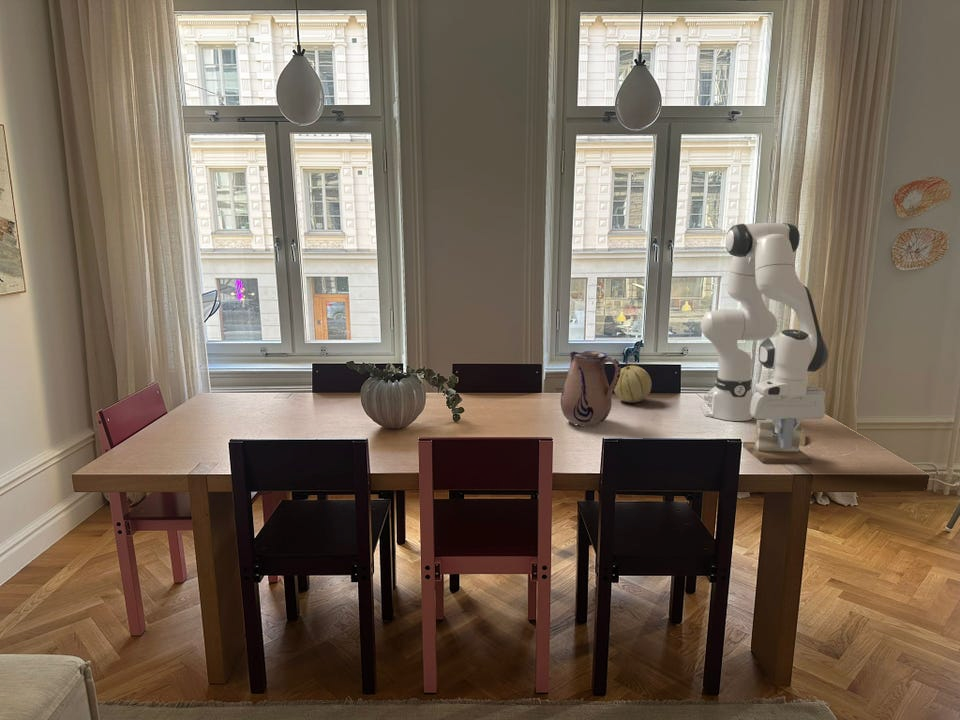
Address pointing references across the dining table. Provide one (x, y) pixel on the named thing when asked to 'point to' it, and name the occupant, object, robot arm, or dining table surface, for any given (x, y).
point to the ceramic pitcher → (588, 388)
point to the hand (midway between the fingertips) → (784, 433)
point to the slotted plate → (785, 433)
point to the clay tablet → (802, 439)
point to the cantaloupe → (633, 384)
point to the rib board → (777, 455)
